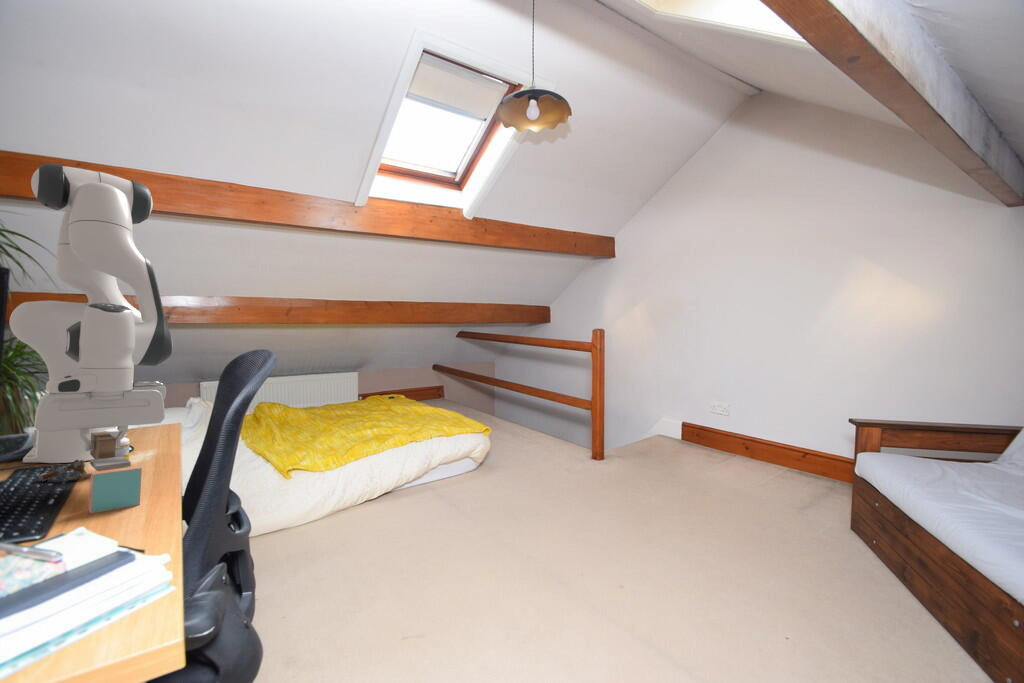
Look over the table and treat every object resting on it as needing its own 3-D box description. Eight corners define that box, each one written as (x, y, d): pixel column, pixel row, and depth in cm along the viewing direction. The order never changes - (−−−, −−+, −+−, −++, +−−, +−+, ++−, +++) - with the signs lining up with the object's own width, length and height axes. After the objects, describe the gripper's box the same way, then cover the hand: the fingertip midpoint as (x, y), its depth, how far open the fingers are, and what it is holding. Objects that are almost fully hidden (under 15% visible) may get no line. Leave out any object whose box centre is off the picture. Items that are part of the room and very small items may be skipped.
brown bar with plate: (82, 455, 99) (83, 433, 99) (113, 451, 102) (114, 431, 102) (96, 470, 87) (97, 446, 87) (130, 466, 91) (131, 442, 91)
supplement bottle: (91, 473, 107) (94, 430, 107) (119, 467, 112) (121, 426, 112) (106, 476, 105) (108, 432, 105) (133, 471, 110) (135, 429, 110)
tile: (88, 510, 85) (90, 472, 85) (137, 502, 91) (139, 465, 91) (90, 513, 84) (92, 474, 84) (139, 505, 89) (141, 468, 89)
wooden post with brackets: (89, 477, 101) (80, 458, 101) (47, 493, 99) (37, 474, 99) (94, 475, 103) (85, 456, 103) (53, 491, 101) (43, 472, 101)
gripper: (162, 379, 107) (159, 440, 107) (35, 382, 92) (31, 453, 92) (170, 381, 103) (167, 445, 103) (38, 384, 88) (34, 459, 88)
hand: (102, 449), depth 97 cm, fingers closed on brown bar with plate, 2 cm apart
